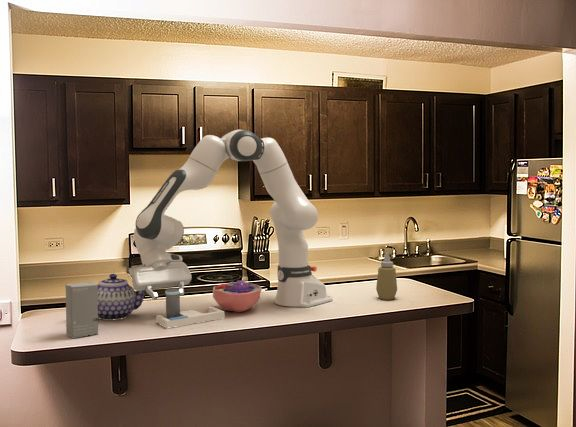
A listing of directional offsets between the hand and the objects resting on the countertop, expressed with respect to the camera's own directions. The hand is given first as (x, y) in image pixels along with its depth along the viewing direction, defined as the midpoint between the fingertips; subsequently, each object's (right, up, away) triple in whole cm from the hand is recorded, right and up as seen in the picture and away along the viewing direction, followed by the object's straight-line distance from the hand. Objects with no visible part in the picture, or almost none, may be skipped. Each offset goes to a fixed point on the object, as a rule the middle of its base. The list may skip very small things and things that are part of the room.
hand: (168, 296), depth 198 cm
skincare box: (-24, -10, -14) cm, 29 cm away
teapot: (-20, -8, +7) cm, 23 cm away
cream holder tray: (+7, -8, +2) cm, 11 cm away
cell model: (+21, -7, +16) cm, 28 cm away
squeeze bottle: (+78, -6, +33) cm, 85 cm away
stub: (+2, -8, -1) cm, 9 cm away
